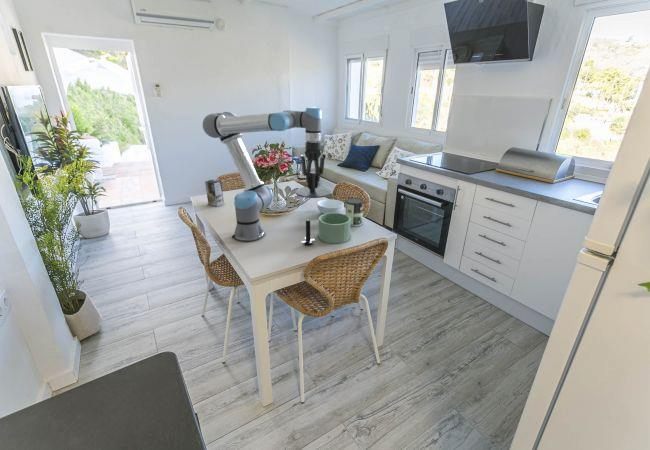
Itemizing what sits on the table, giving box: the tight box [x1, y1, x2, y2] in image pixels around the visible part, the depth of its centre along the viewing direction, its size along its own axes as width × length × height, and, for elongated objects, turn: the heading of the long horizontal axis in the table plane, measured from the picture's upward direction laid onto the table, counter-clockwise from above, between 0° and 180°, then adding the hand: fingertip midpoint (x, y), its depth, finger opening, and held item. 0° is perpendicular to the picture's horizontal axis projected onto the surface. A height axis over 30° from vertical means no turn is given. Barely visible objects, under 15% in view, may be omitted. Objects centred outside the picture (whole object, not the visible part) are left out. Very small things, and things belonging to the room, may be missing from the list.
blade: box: [301, 219, 316, 246], centre depth 158 cm, size 7×7×13 cm
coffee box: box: [204, 179, 225, 207], centre depth 211 cm, size 9×6×16 cm
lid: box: [295, 171, 331, 199], centre depth 160 cm, size 18×18×11 cm
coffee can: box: [344, 197, 364, 227], centre depth 183 cm, size 10×10×14 cm
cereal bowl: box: [316, 198, 345, 215], centre depth 198 cm, size 17×17×7 cm
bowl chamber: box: [318, 212, 351, 244], centre depth 167 cm, size 17×17×10 cm
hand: (312, 187), depth 161 cm, fingers closed on lid, 3 cm apart
